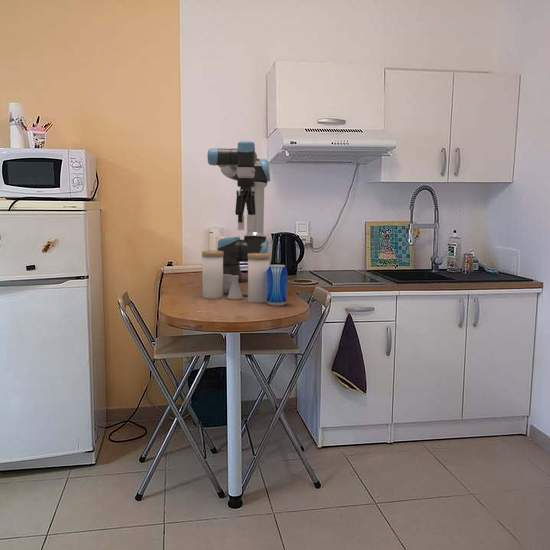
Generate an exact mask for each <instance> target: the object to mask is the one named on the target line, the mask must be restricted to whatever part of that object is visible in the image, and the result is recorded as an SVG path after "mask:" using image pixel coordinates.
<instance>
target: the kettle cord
mask: <svg viewBox="0 0 550 550" xmlns="http://www.w3.org/2000/svg"><path fill="white" fill-rule="evenodd" d="M228 294H229V292H227V293H224V292H223V296H224V295H225V296H228ZM242 296H243V297H245V298H246V297H247V298H248V293H242Z"/></svg>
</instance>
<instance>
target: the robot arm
mask: <svg viewBox="0 0 550 550" xmlns="http://www.w3.org/2000/svg"><path fill="white" fill-rule="evenodd" d="M206 157H207V164H208V165H210V166H214V167H215V166H218V167H219V169H220V172H221V173H222V174H223V176H225V177H226V178H228V179H230V180H234V181H237V183H236V184H237V187H239V188H240V189H237V190H236V199H235V200H236V201H235V212H234V213H235V215H236V216H237V231H245V214H244V213H245V208H246V210H247V214H246V234H245V235H243V239H241V237H240V236H232V237H231V236H230V237H224V238H219V240H217V247H216V249H217V251H224V256H223V274H230V275H233V276H234V275H237V276H239V278H238V283H239V284H240V283H242V282H244V277H243V276H244V275H243V273H242V270H241V267H240V266H241V265H240V263H248V253H269V246H270V245H269V244H270V241H269V239H267V236H266V235H265V233H264V230H265V229H264V222H265V220H264V219H265V216H264V215H265V188H266V187H267V186H268V182H271V172H270V166H269V161H268V160H267V159H265V158H258V154H257V152H256V146H255V142H253V141H251V140H245V141H244V140H243V141H238V142H237V148H219V147H218V148H217V147H215V148H209V149H207V156H206Z"/></svg>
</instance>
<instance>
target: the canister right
mask: <svg viewBox="0 0 550 550" xmlns="http://www.w3.org/2000/svg"><path fill="white" fill-rule="evenodd" d="M270 259H271V253H270V252H268V253H248V262H247V294H248V297H247V302H249V303H259V304H260V303H261V304H262V303H268V302H267V301H266V292H267V270H268V268H269V265H270Z"/></svg>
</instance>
